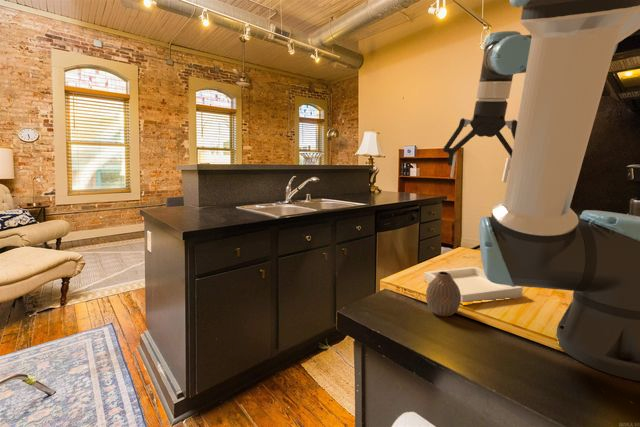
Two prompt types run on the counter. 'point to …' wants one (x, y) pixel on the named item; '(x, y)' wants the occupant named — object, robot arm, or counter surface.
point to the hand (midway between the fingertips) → (477, 178)
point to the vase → (443, 295)
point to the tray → (477, 285)
